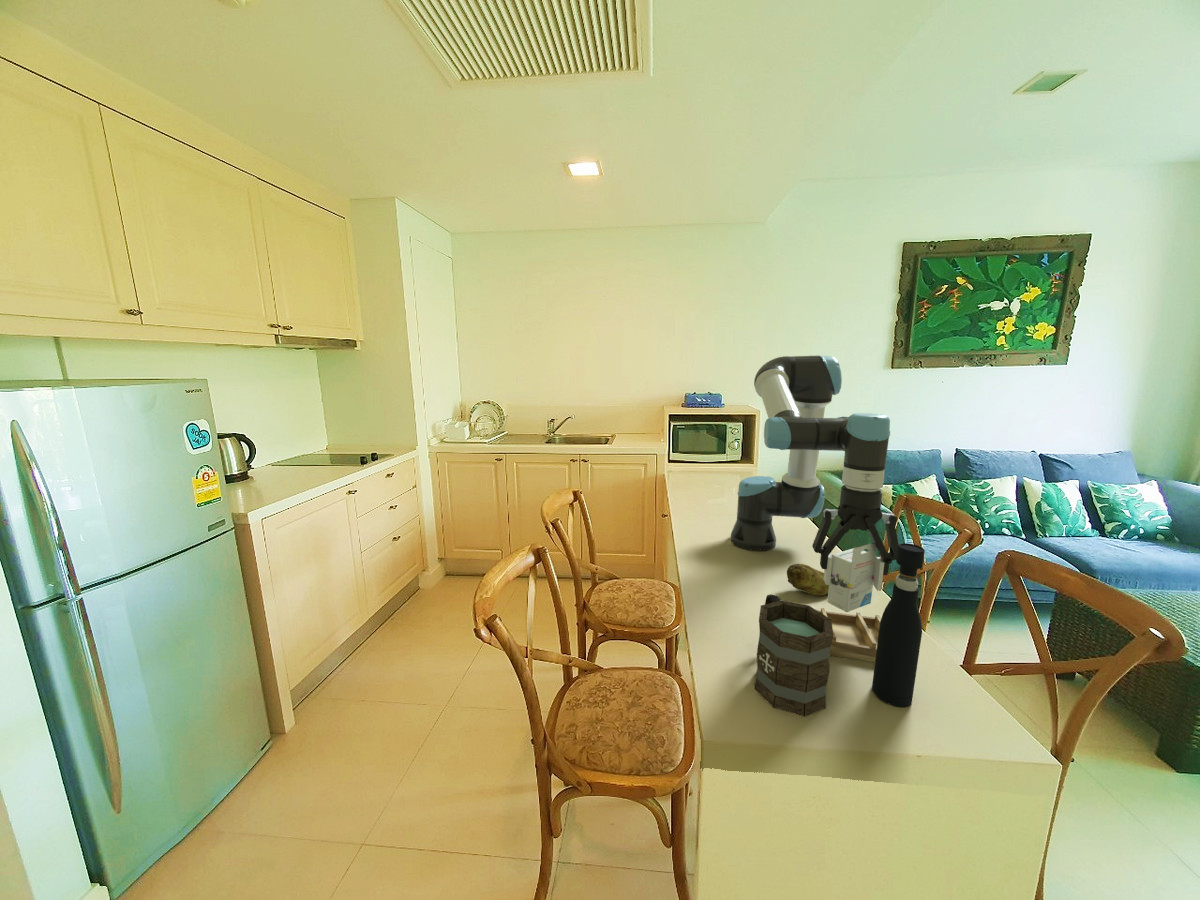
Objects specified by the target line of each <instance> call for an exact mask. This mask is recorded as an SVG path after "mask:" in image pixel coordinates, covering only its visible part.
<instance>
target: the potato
mask: <svg viewBox="0 0 1200 900" xmlns="http://www.w3.org/2000/svg"><path fill="white" fill-rule="evenodd" d="M786 578H787V582H788V584H790V585H792V587H793V588H795V589H796V590H798V591H801V592H804V593H807V594H808V595H812V596H825V595H828V590H829V585H826V583H825V581H824V572H823V571H820V570H817V569H815V568H813V567H812V566H811V565H808V564H804V563H793V564H791V565H789V566H788V568H787V570H786Z"/></svg>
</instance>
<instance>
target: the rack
mask: <svg viewBox="0 0 1200 900" xmlns="http://www.w3.org/2000/svg"><path fill="white" fill-rule="evenodd" d="M816 610H817V609H816ZM817 611H819V612H820V613H822V614H823V615H825V616H827V617H828V618H830V619H831V621H832V628H833V638H832V642H831V646H830V655H829V656H833V657H838V658H845V659H852V660H853V659H854V660H859V661H866V662H872V663H875V659H876V651H877V643H878V635H879V627H880V621H881V618H882V617H881V616H880V615H879V614H875V617H873V616H865V615H862V614H861V613H860V612H856V614H850V613H842V612H834V611H826V609H825V608H823V607H821V608H820V610H819V609H818V610H817Z"/></svg>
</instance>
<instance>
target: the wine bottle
mask: <svg viewBox="0 0 1200 900" xmlns="http://www.w3.org/2000/svg"><path fill="white" fill-rule="evenodd" d="M898 544H899V545H898V552H897V560H895V561H896V564H898V565H899V571H898V574H897V576H896V577H895V582H894V584H893V588H892V594H891V598H890V599H889V602H888V603H887V605H886V606H885V608H884V611H883V613H882V615H881V617H880V618H881V621H880V627H879V635H878V643H877V651H876V659H875V662H874V669H873V677H872V685H871V690H872V692H873V694H874V695H875V696H876V697H877V698H878V699H879V700H880V701H882V702H884V703H886V704H888V705H890V706H892V707H893V706H894V707H897V708H906V707H909V706H911V705H912V703H913V697H914V692H915V691H914V690H915V684H916V677H917V671H918V664H919V656H920V648H921V642H922V636H923V626H922V625H923V624H922V619H921V614H920V610H919V607H918V598H919V591H920V590H919V588H918V587H919V586H918V585H919V581H918V578H917V577H918V574H917V573H918V570H921V569H923V566H924V560H925V559H924V558H925V553H926V552H925V551H926V549H924V547H922V546H920V545H917V544H912V543H907V542H906V543H905V542H903V543H898Z"/></svg>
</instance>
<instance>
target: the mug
mask: <svg viewBox="0 0 1200 900" xmlns="http://www.w3.org/2000/svg"><path fill="white" fill-rule="evenodd" d="M819 611H820V610H819ZM819 611H817V609H815V608H813V607H812V606H811V605H808V604H803V603H797V602H792V601H787V600H781V598H780V597H779V595H776V594H772V593H771V594H767V595H766V597H765V601H764V604H762V605H760V609H759V614H758V615H759V616H758V626H759V636H758V643H757V650H756V673H755V681H754V690H755V691H756V692H757V693H758V694H759V695H760V696H761V697H762V698H763V700H765V701H766V702H767V703H768V704H769V705H770V706H771V707H772V708H773V709H777V710H779V711H784V712H788V713H790V714H793V715H796V716H797V715H798V716H801V717H803V718H805V717H808V716H810V715H812V714H815V713H817V712H820V711H823V710H825V709H827V704H826V703H827V702H826V701H827V700H826V699H827V698H826V697H827V695H826V693H827V687H828V686H827V684H828V679H829V675H830V656H831V655H830V646H831V642H832V638H833V628H832V621H831V619H830V618H828V617H827V616H825V615H823V614H822V613H820V612H819Z"/></svg>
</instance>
